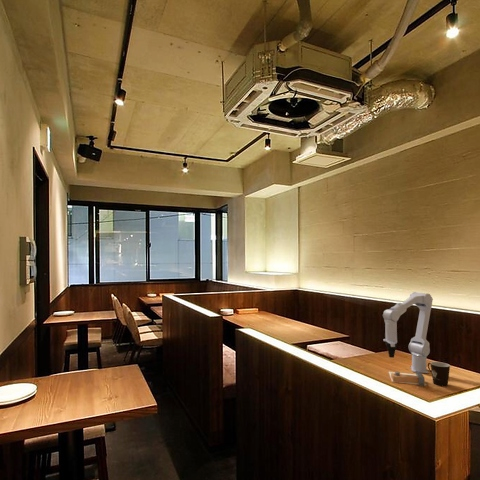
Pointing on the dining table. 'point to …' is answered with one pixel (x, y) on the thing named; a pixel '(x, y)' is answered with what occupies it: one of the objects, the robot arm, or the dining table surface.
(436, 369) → the coffee mug
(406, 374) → the pintle base
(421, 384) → the keeper
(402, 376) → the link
